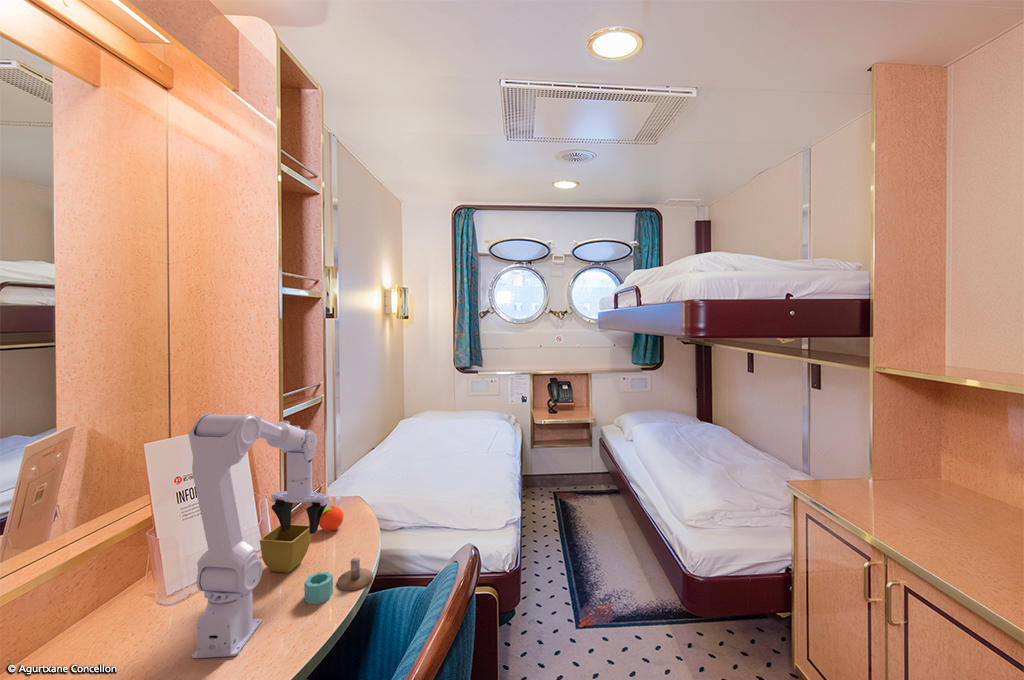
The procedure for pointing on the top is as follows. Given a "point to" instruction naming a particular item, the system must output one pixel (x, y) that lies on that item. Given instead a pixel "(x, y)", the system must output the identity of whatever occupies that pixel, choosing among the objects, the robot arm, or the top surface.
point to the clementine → (331, 518)
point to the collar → (318, 587)
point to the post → (355, 577)
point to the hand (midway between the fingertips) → (299, 530)
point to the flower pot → (285, 547)
